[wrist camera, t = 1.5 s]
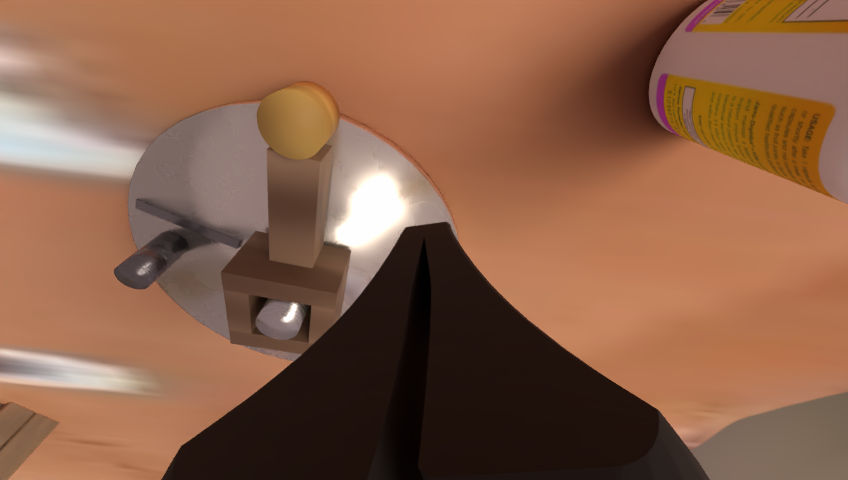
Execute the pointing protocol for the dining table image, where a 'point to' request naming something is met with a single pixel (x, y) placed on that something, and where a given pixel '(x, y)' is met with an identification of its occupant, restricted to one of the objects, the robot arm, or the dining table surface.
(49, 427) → the block tower
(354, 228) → the plate
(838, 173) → the supplement bottle
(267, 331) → the post
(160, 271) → the dowel
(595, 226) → the dining table surface
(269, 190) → the knob-topped wooden stand
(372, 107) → the dining table surface
